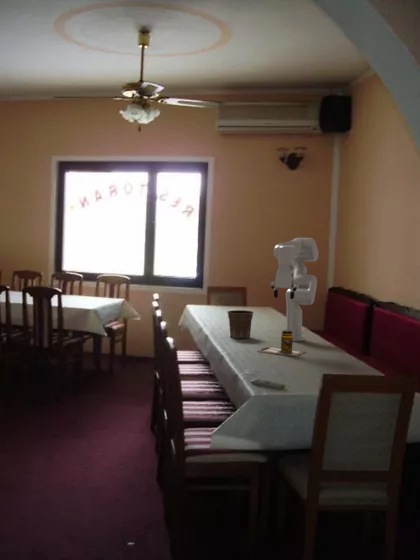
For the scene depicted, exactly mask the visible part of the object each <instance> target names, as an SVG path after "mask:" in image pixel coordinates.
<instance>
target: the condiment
mask: <svg viewBox="0 0 420 560" xmlns="http://www.w3.org/2000/svg"><path fill="white" fill-rule="evenodd" d="M280 340H281V341H280V348H281V350H280V351H278V352H275V353H282V354H288V355H290V354H292V353H294V352H292V350H293V342H294V341H293V337H292V331H289V330H286V329H285V330H281V338H280Z"/></svg>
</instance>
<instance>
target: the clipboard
mask: <svg viewBox="0 0 420 560" xmlns="http://www.w3.org/2000/svg"><path fill="white" fill-rule="evenodd" d="M280 350H281V347H272V346H264V347H262V348H261V349H260V350H258V351H257V352H258V353H261V354H262V353H264V354H269V355H276V356H277V355H278V356H285V357H291V358H292V357H293V358H296V357H298V356H301V355H303V354H305V353H307V352H306V351H302V350H295V349H292V352H294V353H292V354H290V355H288V354H282V353H275V352H278V351H280Z"/></svg>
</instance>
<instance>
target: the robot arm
mask: <svg viewBox="0 0 420 560" xmlns="http://www.w3.org/2000/svg"><path fill="white" fill-rule="evenodd" d="M273 256H274V257H275V258H276V259H277V261H278V264H277V265H278V266H277V270H276V274H275V280H272V281H271V282H269V284H270V287H271V289H272V290H273V296H274V297H273V298H275V299H277V298H278V297H279V296H278V295H279V290H278V289H279V288H280V289H287V290H286V291H285V302H286V317H285V318H286V319H285V321H286V323H285V330H289V331H292V337H293V341H292V342H302V341H304V340H305V337H302V335H303V326H302V325H303V310H302V308H301V306H300V305H304V306H306V305H307V306H309V305H310V306H311V305H312V304H313V303H315V302H314V301H315V299H316V298H315V297H316V293H317V286H318V279H317V276H315V275H313V274H307V273H308V268H307V267H306V265H305V264H304V263H303V262H311V263H312V262H317V260H319V250H318V246H317V243H316V241H315V239H314V238H313V237H295V238H293V239H292V240H290V241H289V240H288V241H286V242H280V243H278V244H276V245H275V246H274V248H273Z"/></svg>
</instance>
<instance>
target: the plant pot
mask: <svg viewBox="0 0 420 560" xmlns="http://www.w3.org/2000/svg"><path fill="white" fill-rule="evenodd" d="M226 313H227V317H228V323H229V325H228V326H229V336H230V338H231V337H232V338H231V339H234V338H241V339H244V340H245V338H247V339H250V338H251V331H252V320H253V315H254V311H252V310H238V309H237V310H235V309H234V310H228V311H227V312H226Z"/></svg>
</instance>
